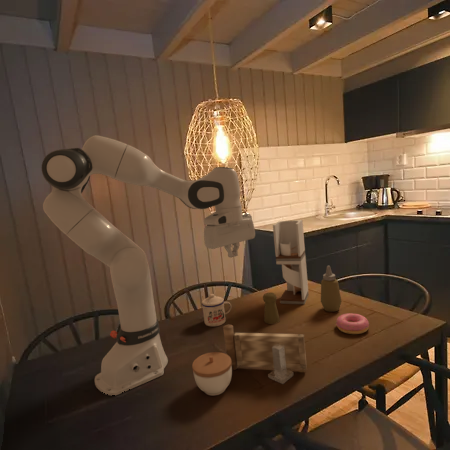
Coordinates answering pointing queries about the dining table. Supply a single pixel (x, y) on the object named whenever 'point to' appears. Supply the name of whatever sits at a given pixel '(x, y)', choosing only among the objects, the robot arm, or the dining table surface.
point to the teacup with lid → (214, 310)
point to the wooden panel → (269, 349)
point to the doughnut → (352, 323)
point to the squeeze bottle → (330, 292)
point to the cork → (270, 309)
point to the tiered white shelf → (291, 260)
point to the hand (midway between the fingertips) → (233, 256)
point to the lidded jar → (212, 372)
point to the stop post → (279, 365)
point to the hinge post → (230, 344)
